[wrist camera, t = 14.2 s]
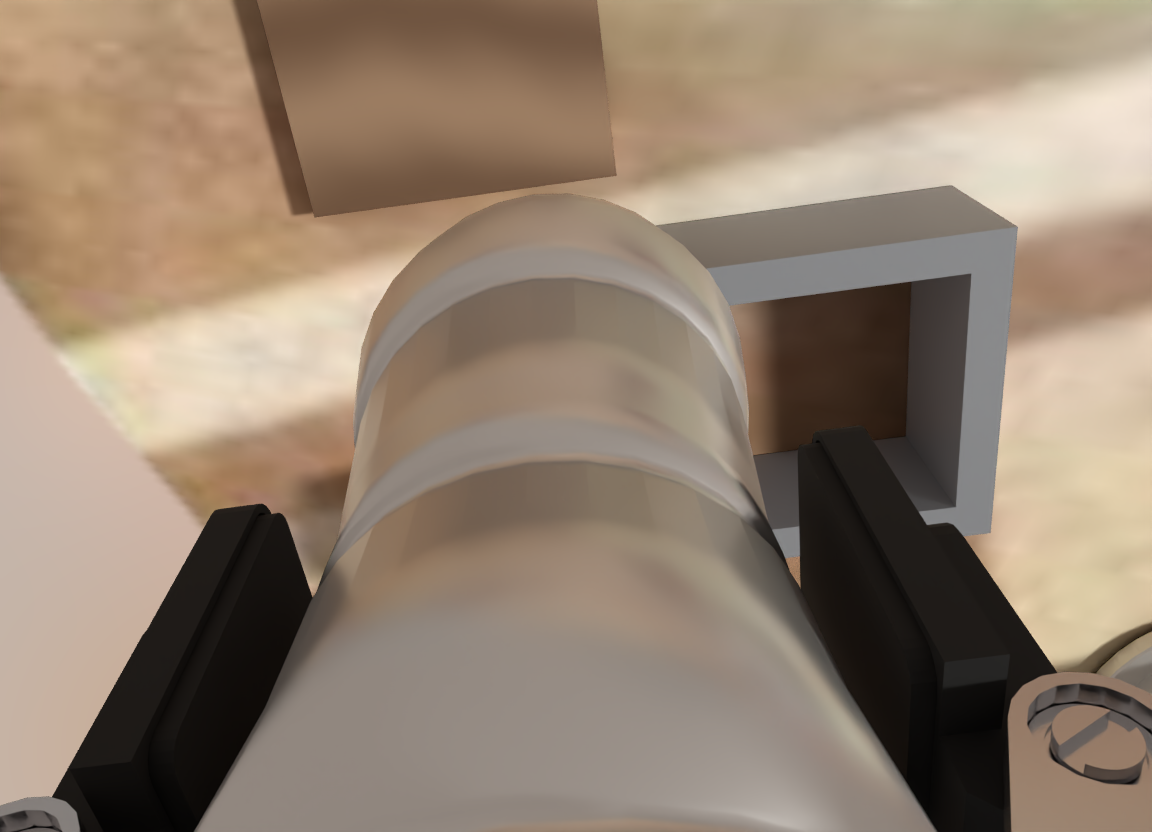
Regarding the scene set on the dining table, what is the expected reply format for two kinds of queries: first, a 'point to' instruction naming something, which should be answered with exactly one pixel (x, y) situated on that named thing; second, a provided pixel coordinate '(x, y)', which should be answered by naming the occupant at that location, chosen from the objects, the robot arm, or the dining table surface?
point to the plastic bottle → (558, 569)
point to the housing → (936, 341)
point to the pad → (439, 97)
